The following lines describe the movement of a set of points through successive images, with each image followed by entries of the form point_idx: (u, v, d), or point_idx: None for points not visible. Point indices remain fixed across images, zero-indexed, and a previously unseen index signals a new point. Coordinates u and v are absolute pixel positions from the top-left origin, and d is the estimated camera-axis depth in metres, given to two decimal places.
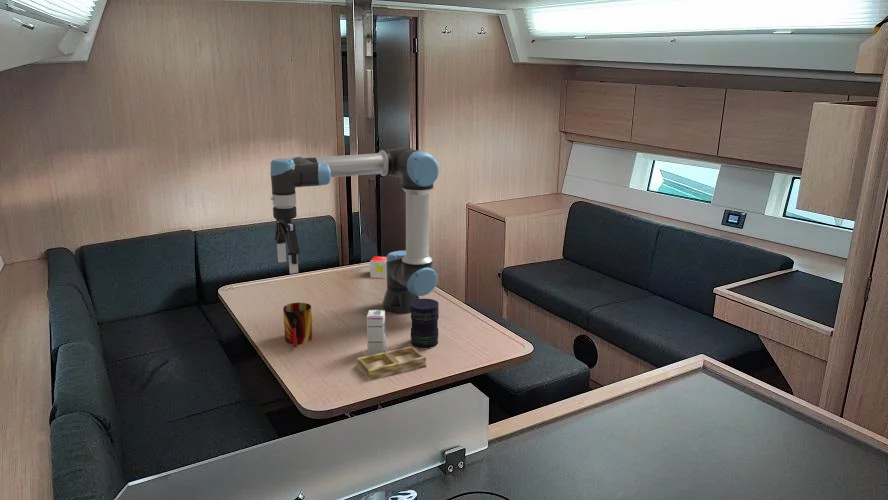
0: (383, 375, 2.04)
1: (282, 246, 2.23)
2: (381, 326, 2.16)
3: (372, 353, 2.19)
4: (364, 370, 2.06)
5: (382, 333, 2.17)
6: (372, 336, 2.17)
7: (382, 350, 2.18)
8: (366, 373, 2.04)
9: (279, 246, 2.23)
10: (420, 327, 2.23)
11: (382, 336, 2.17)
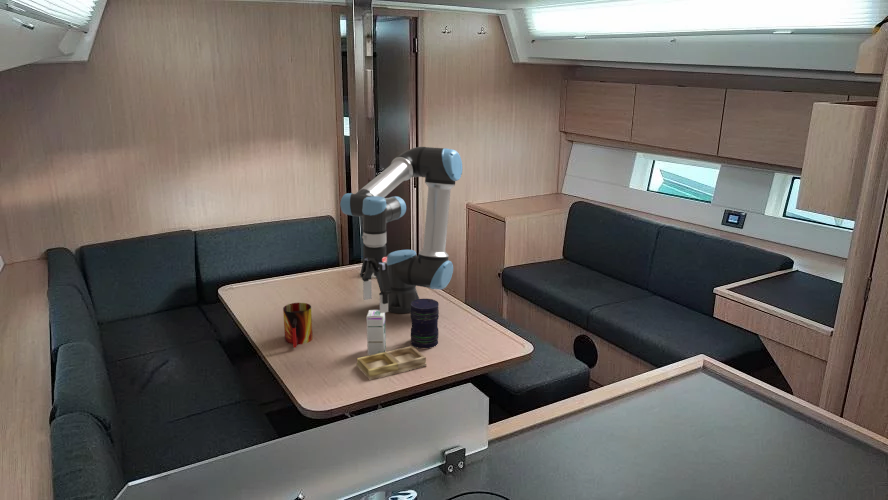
0: (383, 375, 2.04)
1: (368, 283, 2.20)
2: (381, 326, 2.16)
3: (372, 353, 2.19)
4: (364, 370, 2.06)
5: (382, 333, 2.17)
6: (372, 336, 2.17)
7: (382, 350, 2.18)
8: (366, 373, 2.04)
9: (365, 283, 2.20)
10: (420, 327, 2.23)
11: (382, 336, 2.17)
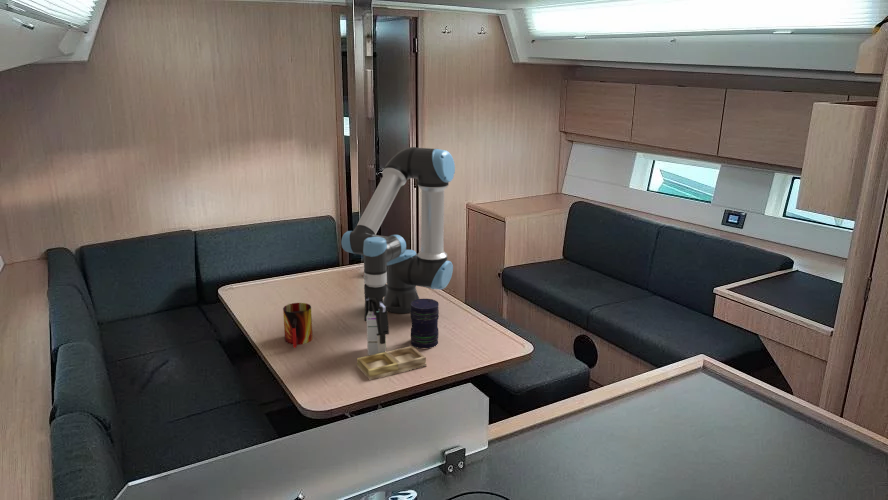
0: (383, 375, 2.04)
1: None
2: None
3: (372, 353, 2.19)
4: (364, 370, 2.06)
5: None
6: (372, 336, 2.17)
7: None
8: (366, 373, 2.04)
9: None
10: (420, 327, 2.23)
11: None
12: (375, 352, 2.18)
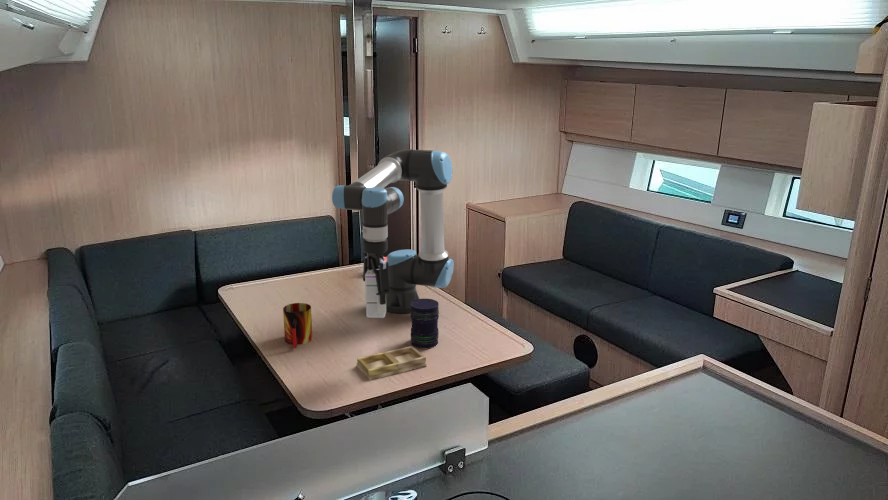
0: (383, 375, 2.04)
1: None
2: None
3: (371, 315, 2.01)
4: (364, 370, 2.06)
5: None
6: (371, 296, 1.99)
7: None
8: (366, 373, 2.04)
9: None
10: (420, 327, 2.23)
11: None
12: (374, 314, 2.01)
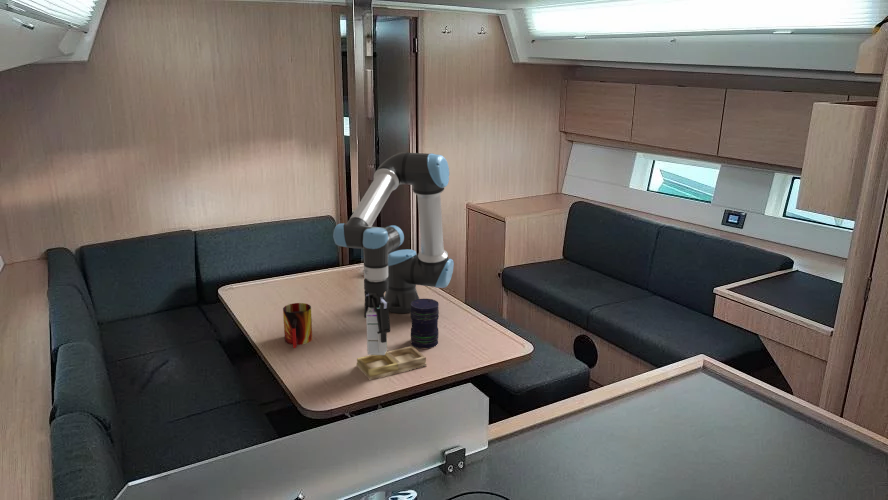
0: (383, 375, 2.04)
1: None
2: None
3: (372, 352, 2.04)
4: (364, 370, 2.06)
5: None
6: (372, 335, 2.03)
7: None
8: (366, 373, 2.04)
9: None
10: (420, 327, 2.23)
11: None
12: (375, 351, 2.04)
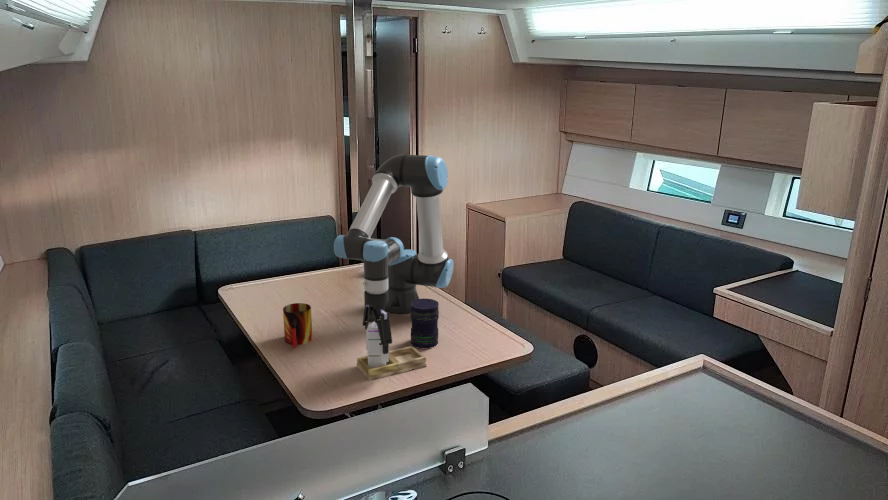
0: (383, 375, 2.04)
1: None
2: None
3: (373, 367, 2.06)
4: (364, 370, 2.06)
5: None
6: (372, 350, 2.04)
7: (383, 364, 2.06)
8: (366, 373, 2.04)
9: None
10: (420, 327, 2.23)
11: None
12: (376, 366, 2.06)
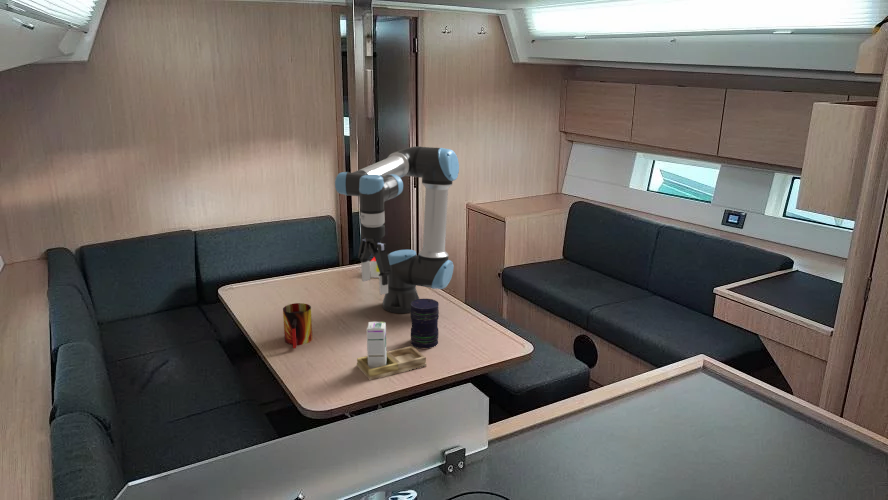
0: (383, 375, 2.04)
1: (366, 264, 2.15)
2: (382, 339, 2.03)
3: None
4: (364, 370, 2.06)
5: (383, 346, 2.04)
6: (372, 350, 2.04)
7: (383, 364, 2.06)
8: (366, 373, 2.04)
9: (364, 265, 2.14)
10: (420, 327, 2.23)
11: (383, 350, 2.04)
12: (376, 367, 2.06)
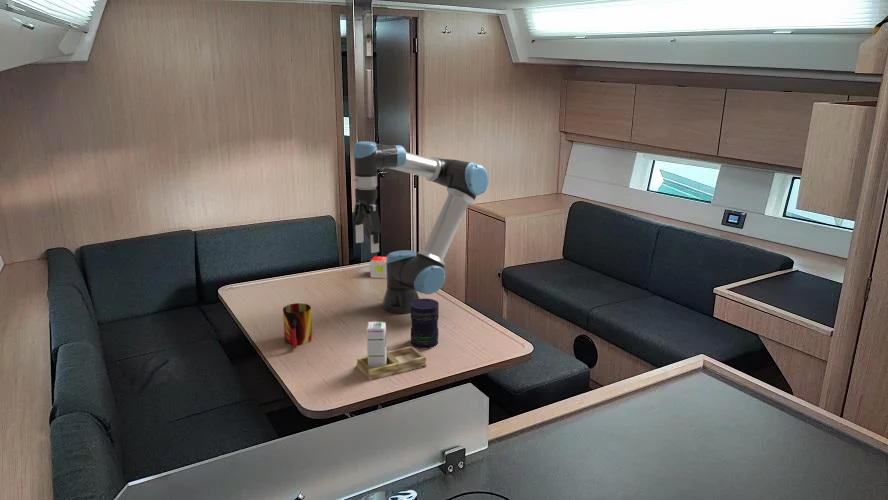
0: (383, 375, 2.04)
1: (360, 227, 2.31)
2: (382, 339, 2.03)
3: None
4: (364, 370, 2.06)
5: (383, 346, 2.04)
6: (372, 350, 2.04)
7: (383, 364, 2.06)
8: (366, 373, 2.04)
9: (357, 227, 2.31)
10: (420, 327, 2.23)
11: (383, 350, 2.04)
12: (376, 367, 2.06)
